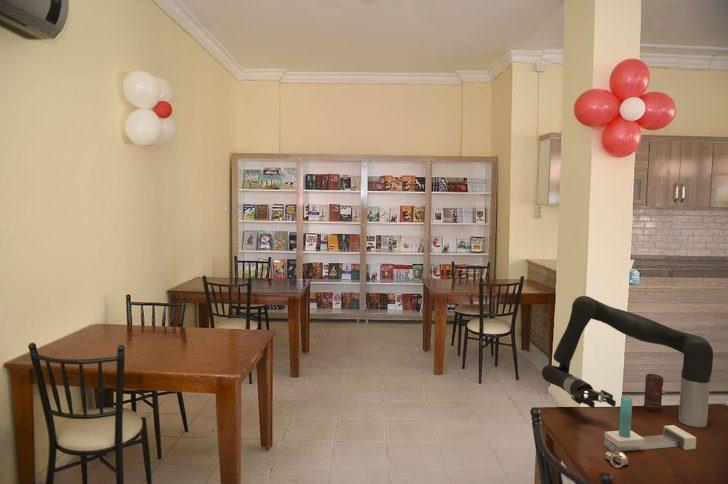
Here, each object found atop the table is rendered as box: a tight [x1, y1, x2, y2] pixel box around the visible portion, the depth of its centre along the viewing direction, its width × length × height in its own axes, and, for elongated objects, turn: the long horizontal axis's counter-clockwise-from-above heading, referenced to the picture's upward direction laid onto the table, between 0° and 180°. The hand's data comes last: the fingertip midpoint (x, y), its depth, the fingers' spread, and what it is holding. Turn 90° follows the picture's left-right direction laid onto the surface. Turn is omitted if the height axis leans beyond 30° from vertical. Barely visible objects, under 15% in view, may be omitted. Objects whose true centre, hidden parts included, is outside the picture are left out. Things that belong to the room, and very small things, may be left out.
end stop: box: [662, 424, 697, 451], centre depth 181 cm, size 5×10×4 cm, turn 11°
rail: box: [603, 434, 679, 453], centre depth 178 cm, size 25×5×2 cm, turn 101°
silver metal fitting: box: [604, 449, 629, 469], centre depth 167 cm, size 8×7×4 cm
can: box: [643, 373, 664, 413], centre depth 210 cm, size 6×6×14 cm
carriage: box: [604, 396, 645, 447], centre depth 176 cm, size 10×7×15 cm
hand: (604, 404), depth 187 cm, fingers open, 8 cm apart
